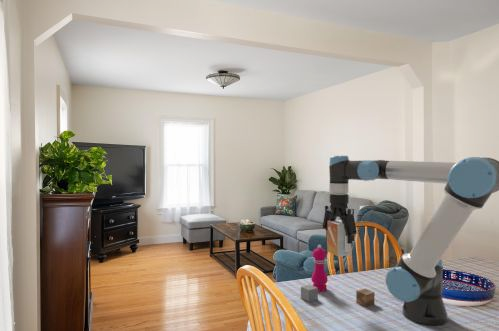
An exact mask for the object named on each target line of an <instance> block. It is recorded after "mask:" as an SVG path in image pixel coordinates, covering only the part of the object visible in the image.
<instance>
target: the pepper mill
mask: <svg viewBox="0 0 499 331" xmlns="http://www.w3.org/2000/svg"><path fill="white" fill-rule="evenodd" d="M326 251H327V250H325V249H324V248H322V245H321V244H318V245H317V248H315V249H314V250H313V251H312V256H313V262H314V270H313V273H312V275H311V282H312V283H313V284H312V286H315V287H317V288H318V292H325V291H327V286H328V285H327V283H328V281H329V280H328V275H327V273H326V270H325V263H326V258H327V252H326Z"/></svg>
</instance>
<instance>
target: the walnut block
mask: <svg viewBox="0 0 499 331" xmlns="http://www.w3.org/2000/svg"><path fill="white" fill-rule="evenodd" d="M355 295H356V299H355V300H356V301H355V303H356V304H359V305H360V306H362V307H365V308H367V307H370V306H371V307H372V306H374V305H375V291H372V290H370V289H366V288H362V289H358V290H356V293H355Z"/></svg>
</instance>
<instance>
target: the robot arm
mask: <svg viewBox="0 0 499 331" xmlns="http://www.w3.org/2000/svg"><path fill="white" fill-rule="evenodd" d="M328 167H329V188H328V189H329V193H330V194H329V203H330V204H329V205H325V206H324V210H325V211H324V216H323V222H322V228H323V229H325V232H326V235H325V237H326V238H327V221H335V220H337V218H339V220H341V221H342V223H343V224H344V228H345V231H346V235H345V252H349V251H351V252H352V243H353V235H357V234H358V233H357V232H358V231H357V226H356V221H355V216H354V215H355V209H354V208H349V207H348V204H349V203H350V202H349V194H348V193H349V181H350V180H355V181H365V182H366V181H367V182H369V181H374V180H394V181H405V182H406V181H407V182H421V183H435V184H445V186H444V188H443V191H444V194H445V196H444V198H443V199H442V201H441V203H440V204H439V206H438V207H437V209H436V210H435V213H433V215H432V217H431V218H430V220H429V222H428V223H427V225H426V226H425V228H424V229H423V232H422V233H421V235H420V236H419V238H418V239H417V241H416V242H415V244H414V246H413V247H412V249H411V251H409V252H406V253H403V254H402V256H401V258H400V259H399V260H398V262H397V263H396V265H395V267H392V268H390V269H389V270H388V271H387V272H386V274H385V284H386V286H387V290H388V291H389V293H390V294H391V296H393V297H394V298H395V299H397V300H398V301H400V302H403V305H402V315H403V316H404V317H405V318H406V319H408V320H410V321H412V322H415V323H417V324H422V325H427V326H441V325H445V324H447V322H448V311H447V309H446V305H445V303H444V300H443V273H444V272H443V271H444V270H443V269H444V265H443V260H442V257H443V256H444V254H445V253H446V251H447V250H448V248H449V247H450V245H451V244H452V243H453V241H454V240H455V238H456V237H457V235H458V233H459V232H460V231H461V229H462V227H463V226H464V225H465V223H467V220H468V219H469V217H470V216H471V215H472V213H473V211H475V210H480V209H483V207H484V205H485V204H486V203H487V201H488V200H489V198H490V197H491V195H493V194H494V193H496V192H499V160H497V159H496V158H491V157H478V156H473V157H466V158H464V159H461V160H459V161H458V162H450V161H449V162H447V161H446V162H444V161H441V162H440V161H413V160H412V161H411V160H409V161H407V160H384V159H377V160H375V159H374V160H369V159H368V160H367V159H366V160H364V159H363V160H350V158H349V156H348V155H331V156H330V158H329V166H328Z"/></svg>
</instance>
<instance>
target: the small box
mask: <svg viewBox="0 0 499 331" xmlns="http://www.w3.org/2000/svg"><path fill="white" fill-rule="evenodd" d="M345 235H346V231H345V228H344V224H343V223H342V220H341V219H336V220H335V221H327V237H326V238H327V239H326V247H327V248H326V251H327V252H326V253H330V254H331V255H333V256H336V257H337V258H338V257H349V256H352V250H351V251H349V252H345Z"/></svg>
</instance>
